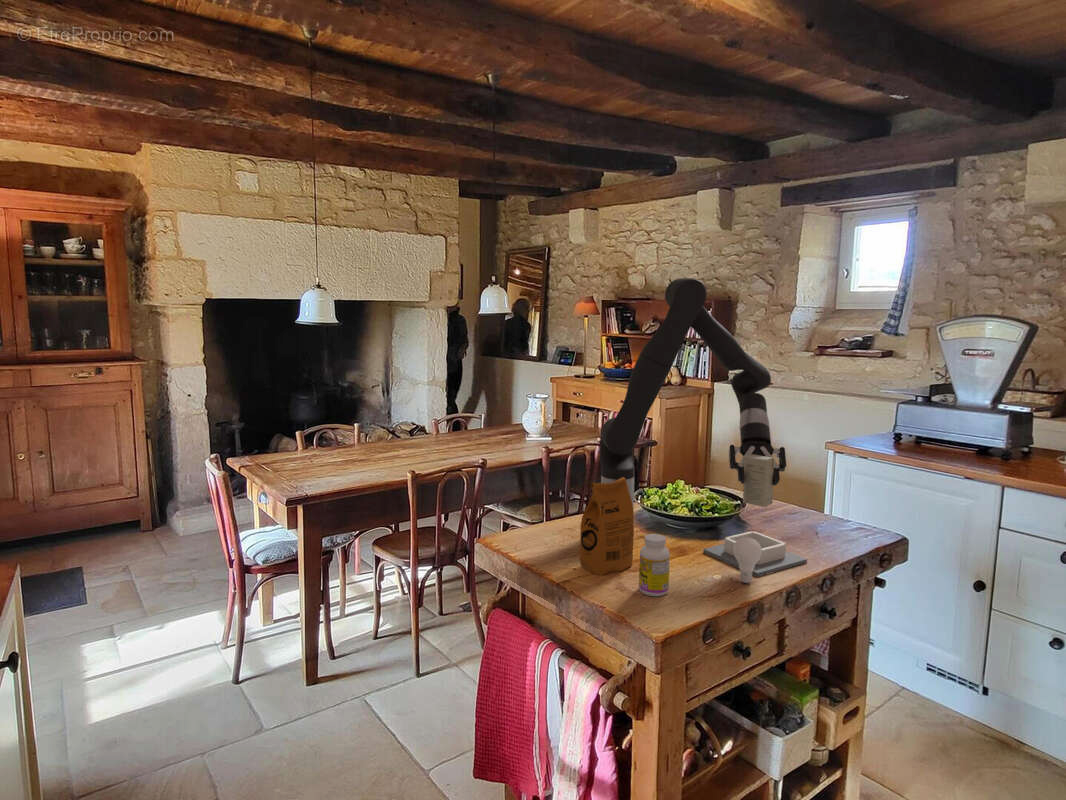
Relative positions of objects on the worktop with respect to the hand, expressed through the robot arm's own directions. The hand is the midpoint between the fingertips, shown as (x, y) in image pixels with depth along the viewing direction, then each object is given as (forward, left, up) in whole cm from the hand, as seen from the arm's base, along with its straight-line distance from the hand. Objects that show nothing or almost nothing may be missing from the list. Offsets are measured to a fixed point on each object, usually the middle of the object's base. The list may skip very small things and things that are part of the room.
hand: (759, 483), depth 166 cm
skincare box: (+1, +1, -6) cm, 6 cm away
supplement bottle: (-35, -2, -20) cm, 41 cm away
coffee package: (-36, +15, -20) cm, 44 cm away
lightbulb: (-13, -9, -20) cm, 26 cm away
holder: (+1, +1, -20) cm, 20 cm away
